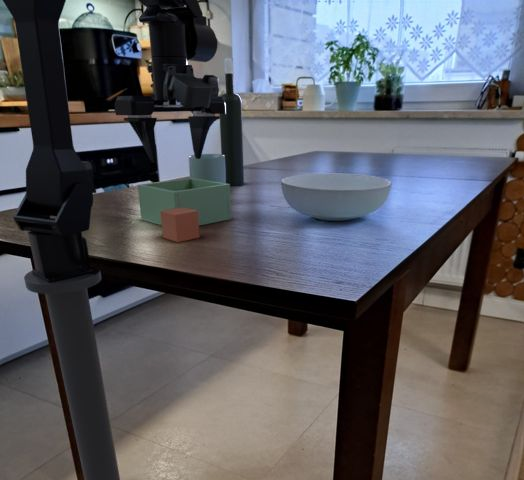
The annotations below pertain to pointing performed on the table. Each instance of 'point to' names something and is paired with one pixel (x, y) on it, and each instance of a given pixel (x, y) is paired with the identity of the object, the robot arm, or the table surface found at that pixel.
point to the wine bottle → (232, 130)
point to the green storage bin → (186, 199)
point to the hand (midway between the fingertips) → (176, 160)
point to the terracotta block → (180, 224)
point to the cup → (208, 167)
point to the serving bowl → (335, 195)
